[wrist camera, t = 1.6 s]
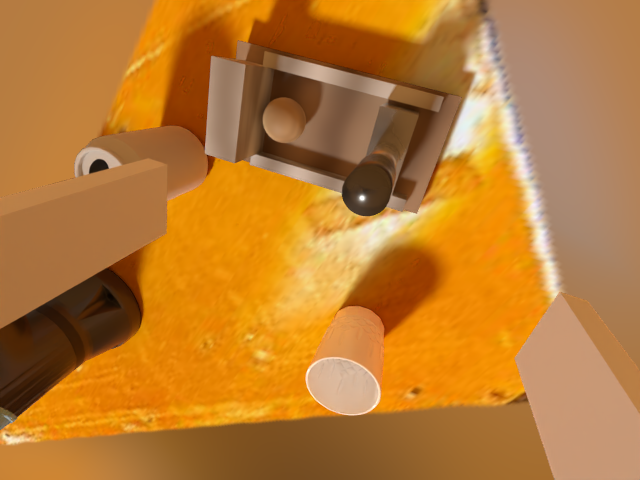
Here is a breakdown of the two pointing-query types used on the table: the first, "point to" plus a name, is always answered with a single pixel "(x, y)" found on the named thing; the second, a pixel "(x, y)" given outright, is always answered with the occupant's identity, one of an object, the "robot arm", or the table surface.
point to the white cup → (349, 363)
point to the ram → (380, 161)
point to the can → (149, 155)
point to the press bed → (320, 119)
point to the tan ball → (284, 120)
